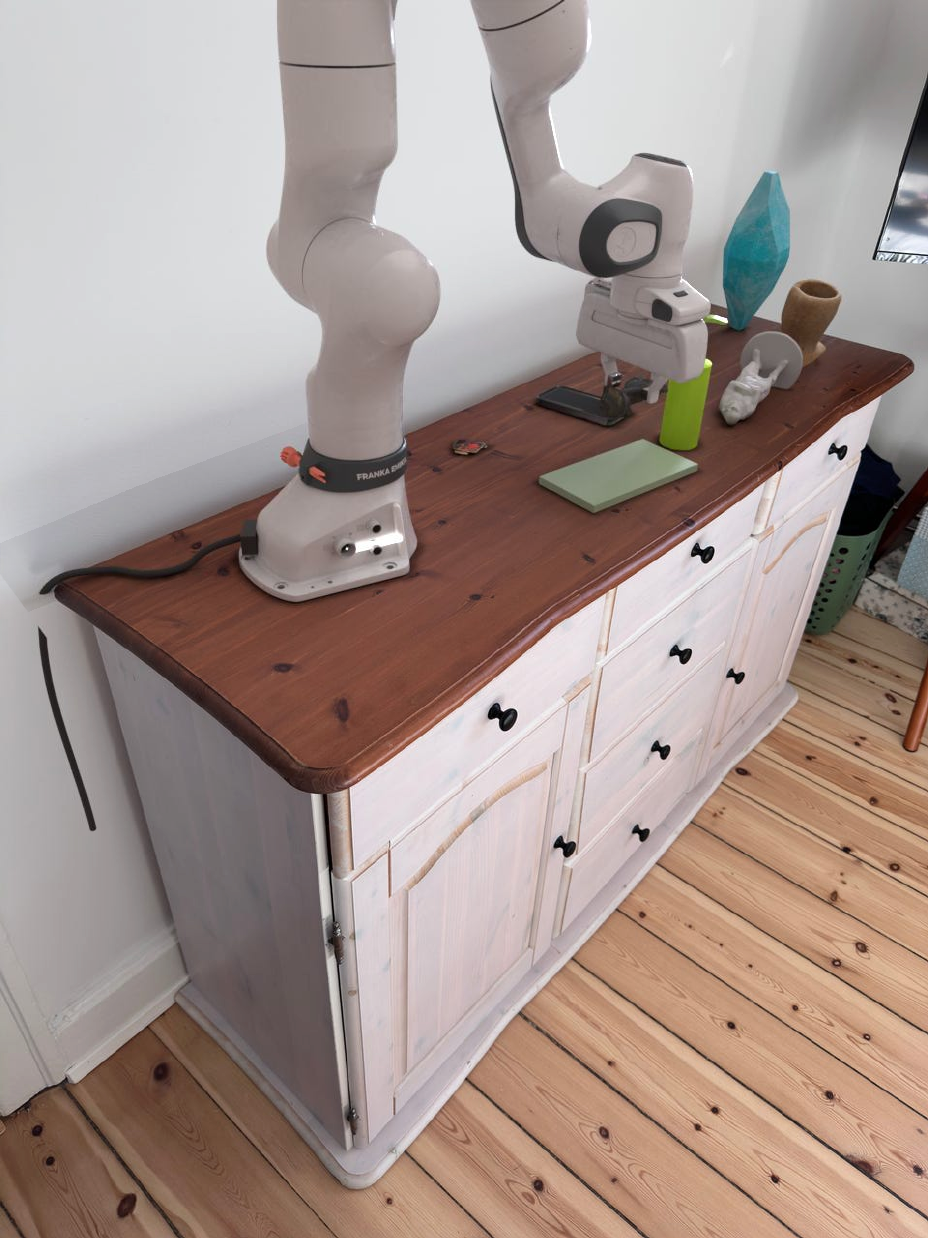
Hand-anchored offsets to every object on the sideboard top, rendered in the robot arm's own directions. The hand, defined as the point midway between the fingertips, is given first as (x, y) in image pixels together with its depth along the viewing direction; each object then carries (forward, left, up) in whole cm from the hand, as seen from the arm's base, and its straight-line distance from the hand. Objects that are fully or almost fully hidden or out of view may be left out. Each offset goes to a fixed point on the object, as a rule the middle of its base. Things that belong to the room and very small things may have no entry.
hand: (630, 393), depth 128 cm
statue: (0, 0, -3) cm, 3 cm away
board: (0, 0, -13) cm, 13 cm away
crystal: (+73, +34, -13) cm, 81 cm away
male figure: (+39, +7, -13) cm, 42 cm away
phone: (+14, +22, -13) cm, 29 cm away
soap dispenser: (+17, +3, -13) cm, 21 cm away
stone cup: (+65, +15, -13) cm, 68 cm away
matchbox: (-12, +21, -13) cm, 27 cm away
